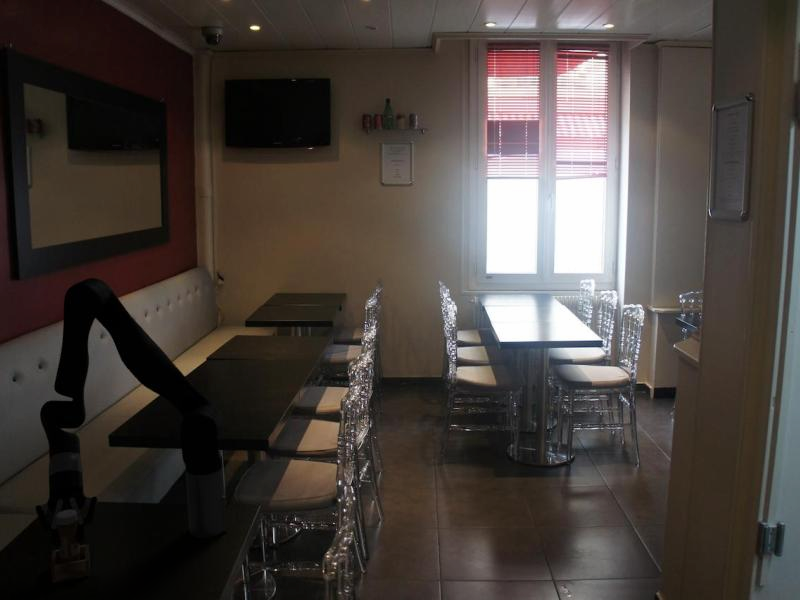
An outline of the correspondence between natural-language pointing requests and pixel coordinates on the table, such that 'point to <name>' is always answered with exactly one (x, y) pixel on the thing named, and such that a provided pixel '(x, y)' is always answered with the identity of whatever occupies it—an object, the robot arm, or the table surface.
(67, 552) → the sprinkles bottle
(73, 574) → the oak socket block
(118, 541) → the table surface
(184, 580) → the table surface
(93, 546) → the table surface
